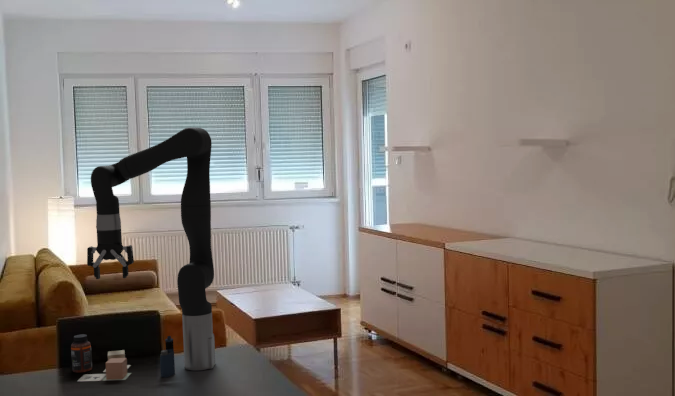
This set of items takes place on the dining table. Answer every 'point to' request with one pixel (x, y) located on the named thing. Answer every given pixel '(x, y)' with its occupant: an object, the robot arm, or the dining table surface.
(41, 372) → the dining table surface
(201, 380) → the dining table surface
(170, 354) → the vaping device
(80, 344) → the supplement bottle
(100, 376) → the tile
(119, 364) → the terracotta block
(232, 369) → the dining table surface
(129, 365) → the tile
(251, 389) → the dining table surface
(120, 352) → the maple block
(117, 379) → the sage pad
